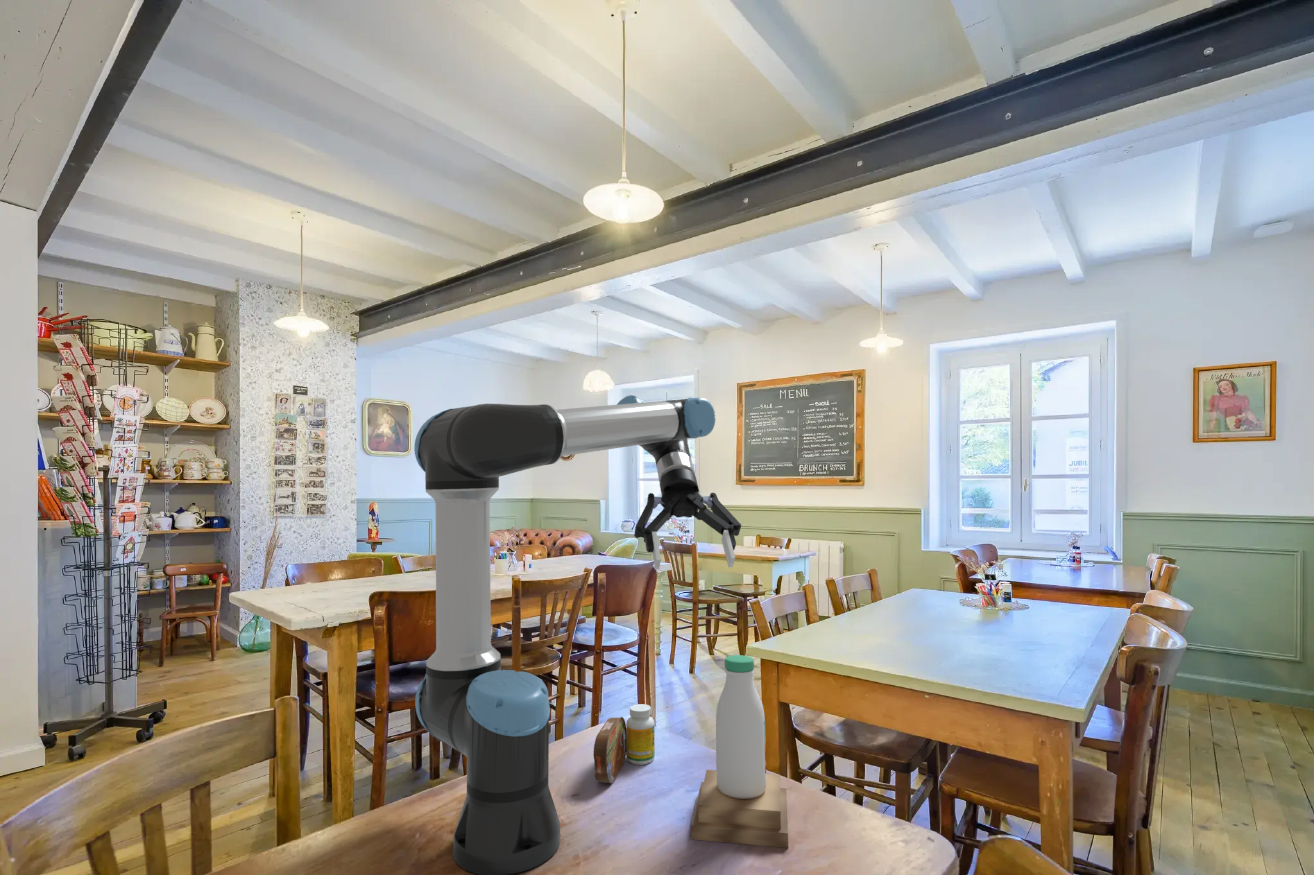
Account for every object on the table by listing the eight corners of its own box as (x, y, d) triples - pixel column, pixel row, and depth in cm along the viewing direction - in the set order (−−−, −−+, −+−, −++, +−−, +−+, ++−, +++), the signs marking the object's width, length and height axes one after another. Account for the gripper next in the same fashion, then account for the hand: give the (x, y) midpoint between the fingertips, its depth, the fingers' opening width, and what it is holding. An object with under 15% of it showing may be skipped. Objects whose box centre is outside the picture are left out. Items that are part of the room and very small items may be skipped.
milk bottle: (765, 802, 98) (762, 666, 99) (714, 798, 99) (712, 663, 101) (767, 779, 105) (764, 652, 107) (719, 775, 107) (717, 650, 108)
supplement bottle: (624, 755, 126) (623, 703, 127) (651, 752, 127) (651, 701, 128) (629, 766, 121) (629, 713, 122) (657, 763, 122) (657, 711, 123)
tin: (608, 792, 111) (608, 741, 112) (590, 791, 112) (590, 740, 112) (628, 755, 126) (628, 710, 127) (612, 754, 127) (612, 709, 127)
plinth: (691, 839, 96) (690, 807, 97) (701, 794, 110) (701, 766, 110) (788, 848, 94) (787, 815, 94) (786, 800, 108) (786, 772, 108)
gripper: (733, 492, 138) (757, 574, 122) (614, 493, 134) (624, 578, 118) (740, 466, 133) (766, 548, 117) (617, 466, 129) (628, 552, 113)
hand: (695, 563), depth 118 cm, fingers open, 13 cm apart
